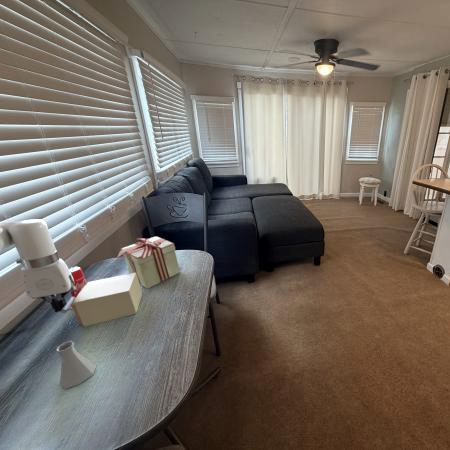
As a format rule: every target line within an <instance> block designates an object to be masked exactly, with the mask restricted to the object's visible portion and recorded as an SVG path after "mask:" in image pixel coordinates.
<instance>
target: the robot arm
mask: <svg viewBox="0 0 450 450" xmlns="http://www.w3.org/2000/svg"><path fill="white" fill-rule="evenodd" d="M13 245H14V247H15V249H16V251H17V253H18V256H19V258H18V259H16V260H15V263H16V264H17V265H19V264H21V265H22V267H21V269H20V273H21V274H20V275H21V281H22V285H23V288H24V291H25V293H26V296H27V297H28V298H30V299H33V300H34V299H35V300H37V299H42V300H45V301H46V302H47V303H50V305H51V308H52V310H54V312H55V313H59V312H61V310H62V309H63V308H64V306H65V305H66V304H67V301H66V298H65V296H66V295H67V294H71V292H73V291H75V290H76V287H75V286H74V279H73V277H72V274H71V272H70V270H69V268H70V267H68V265H67V264H66V262H65V261H64V260H63V259H62V258H60V256H59V254H58V250H57V249H56V246H55V243H54V240H53V237H52V235H51V232H50V230H49V227H48V225H47V223H46V221H45V220H43V219H38V218H37V219H25V220H20V221H0V253H2V252H3V251H4V250H6V249H7V248H9V247H11V246H13Z"/></svg>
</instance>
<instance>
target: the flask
mask: <svg viewBox="0 0 450 450" xmlns="http://www.w3.org/2000/svg"><path fill="white" fill-rule="evenodd" d="M74 345H75V342H74V341H72V340H69V341H65V342H63V343H61V344H60V345H57V347H56V349H55V351H56V352H57V353H58V354H59V356H60V360H61V366H60V367H61V368H60V376H59V377H60V378H59V385H60V386H61V387H62V388H63V389H64V390H66V389H70V388H73V387H75V386H78V385H81V384H82V383H83V382H85V381H87V380H88V379H89V378H90V377H92V376H93V375H94V373H95V371H96V368H97V364H95V363H94V362H93V361H91V360H90V359H89V358H87V357H85V356H83V355H82V354H81V353H79V352H78V351H77V349H76V348H75V346H74Z"/></svg>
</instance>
